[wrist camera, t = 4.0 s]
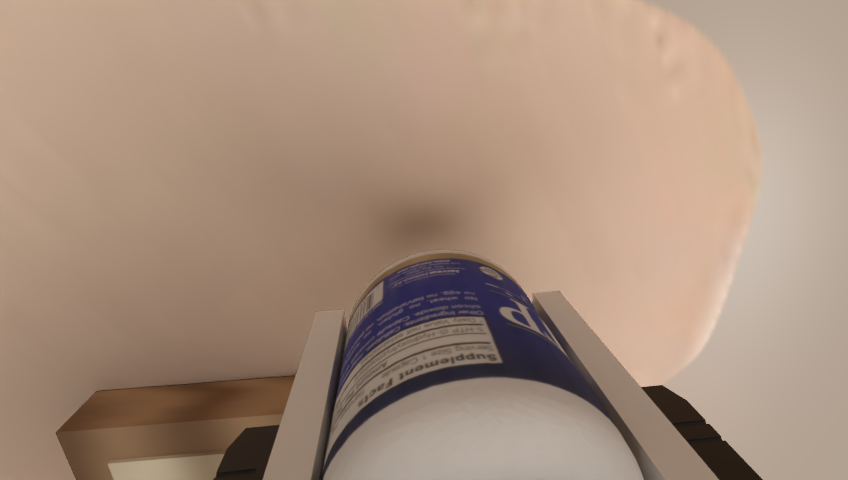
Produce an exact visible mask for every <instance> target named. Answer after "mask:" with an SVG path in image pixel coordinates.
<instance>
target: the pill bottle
mask: <svg viewBox="0 0 848 480" xmlns="http://www.w3.org/2000/svg"><path fill="white" fill-rule="evenodd" d="M321 480H644V478H643V475H642V473H641V470H640V468H639V465H638V463H637V461H636V458H635V457H634V455H633V453H632V452H631V450H630V448H629V447H628V445H627V443H626V442H625V440H624V438H623V437H622V435H621V433H620V431H619V430H618V428H617V427H616V425H615V424H614V422H613V421H612V419H611V418H610V416H609V415H608V413H607V412H606V411H605V409H604V408H603V407H602V405H601V404H600V402H599V401H598V400H597V398H596V397H595V395H594V394H593V392H592V391H591V389H590V388H589V386H588V385H587V383H586V382H585V380H584V379H583V377H582V376H581V374H580V373H579V372H578V370H577V369H576V367H575V366H574V364H573V362H572V361H571V360H570V359H569V357H568V356H567V354H566V353H565V351H564V350H563V348H562V347H561V346H560V344H559V343H558V341H557V340H556V338H555V337H554V335H553V334H552V333H551V331H550V330H549V328H548V327H547V325H546V324H545V322H544V321H543V319H542V318H541V316H540V315H539V313H538V312H537V310H536V309H535V307H534V306H533V304H532V303H531V301H530V300H529V298H528V297H527V295H526V294H525V292H524V291H523V290H522V288H521V287H520V285H519V284H518V283H517V282H516V280H515V279H514V278H513V277H512V276H511V275H510V274H509V273H508V272H507V271H505V270H504V269H503V268H501V267H500V266H499V265H497V264H495V263H494V262H492V261H490V260H489V259H486V258H484V257H481V256H479V255H476V254H473V253H470V252H465V251H460V250H449V249H440V250H430V251H424V252H420V253H416V254H413V255H410V256H407V257H405V258H402V259H400V260H398V261H396V262H394V263H393V264H391V265H389V266H388V267H386V268H385V269H383V270H382V271H381V272H380V273H379V274H377V275H376V276H375V277H374V278H373V279H372V280H371V281H370V282H369V284H368V285H367V286H366V287H365V288H364V290H363V291H362V293H361V294H360V296H359V298H358V300H357V301H356V303H355V306H354V308H353V310H352V313H351V316H350V320H349V325H348V329H347V335H346V340H345V346H344V352H343V359H342V366H341V371H340V377H339V383H338V389H337V395H336V401H335V407H334V411H333V416H332V423H331V428H330V433H329V439H328V444H327V450H326V455H325V461H324V466H323V472H322V478H321Z"/></svg>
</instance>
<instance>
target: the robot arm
mask: <svg viewBox="0 0 848 480" xmlns="http://www.w3.org/2000/svg"><path fill="white" fill-rule="evenodd" d="M532 304H533V306H534V307H535V309H536V310H537V312H538V313H539V315H540V316H541V318H542V319H543V321H544V322H545V324H546V325H547V327H548V328H549V330H550V331H551V333H552V334H553V335H554V337H555V338H556V340H557V341H558V343H559V344H560V346H561V347H562V348H563V350H564V351H565V353H566V354H567V356H568V357H569V359H570V360H571V361H572V362H573V364H574V366H575V367H576V369H577V370H578V372H579V373H580V374H581V376H582V377H583V379H584V380H585V382H586V383H587V385H588V386H589V388H590V389H591V391H592V392H593V394H594V395H595V397H596V398H597V400H598V401H599V402H600V404H601V405H602V407H603V408H604V409H605V411H606V412H607V413H608V415H609V416H610V418H611V419H612V421H613V422H614V424H615V425H616V427H617V428H618V430H619V431H620V433H621V435H622V437H623V438H624V440H625V442H626V443H627V445H628V447H629V448H630V450H631V452H632V453H633V455H634V457H635V458H636V461H637V463H638V465H639V468H640V470H641V473H642V475H643V478H644V480H762V479H761V477H759V475H757V473H756V472H755V471H754V470H753V469H752V468H751V467H750V466H749V465H748V464H747V463H746V462H745V461H744V460H743V459H742V458H741V457H740V456H739V455H738V454H737V453H736V451H734V449H733V448H732V447H731V446H730V445H729V444H728V443H727V442H726V441H722V439H721V436H720V435H719V434H718V433H717V432H716V431H715V430H714V428H713V427H712V426H711V425H710V424H706V422H705V419H704V418H703V417H702V416H701V415H700V414H699V413H698V412H697V411H696V410H695V409H694V408H693V407H692V406H691V405H690V403H689V402H688V401H687V400H685V399H683V398H682V397H680V396H678V395H677V394H675V393H674V392H672V391H670V390H669V389H667V388H666V387H664V386H662V385H659V386H649V387H640V386H639V385H638V383H637V382H636V381H635V380H634V379H633V377H632V376H631V375H630V374H629V373H628V372H627V370H626V369H625V368H624V367H623V366H622V365H621V363H620V362H619V361H618V360H617V359H616V357H615V356H614V355H613V354H612V353H611V352H610V350H609V349H608V348H607V347H606V346H605V344H604V343H603V342H602V341H601V340H600V339H599V337H598V336H597V335H596V334H595V333H594V332H593V330H592V329H591V328H590V327H589V326H588V324H587V323H586V322H585V321H584V320H583V319H582V317H581V316H580V315H579V314H578V313H577V311H576V310H575V309H574V308H573V307H572V306H571V304H570V303H569V302H568V301H567V300H566V299H565V297H564V296H563V295H562V294H561V293H560V291H553V292H541V293H533V301H532ZM346 335H347V328H346V320H345V312H344V309H340V310H328V311H316V314H315V317H314V320H313V323H312V326H311V329H310V332H309V335H308V339H307V342H306V345H305V348H304V351H303V354H302V357H301V361H300V364H299V367H298V370H297V373H296V376H295V379H294V382H293V386H292V389H291V392H290V395H289V398H288V401H287V404H286V408H285V411H284V414H283V417H282V420H281V423H280V425H272V426H261V427H251V428H245V430H244V431H243V432H242V433H241V434H240V435H239V436H238V437H237V438H236V439H235V440H234V442H233V443H232V444H231V445H230V446H229V447H228V448H227V450H226V452H225V454H224V456H223V458H222V461H221V463H220V465H219V467H218V470H217V472H216V478H214V479H213V480H321V478H322V472H323V466H324V461H325V455H326V450H327V444H328V439H329V433H330V428H331V423H332V416H333V411H334V407H335V401H336V395H337V389H338V383H339V377H340V371H341V366H342V359H343V352H344V346H345V340H346Z"/></svg>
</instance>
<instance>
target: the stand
mask: <svg viewBox="0 0 848 480" xmlns="http://www.w3.org/2000/svg"><path fill="white" fill-rule="evenodd" d="M294 379H295V376H286V377H273V378H261V379H248V380H235V381H222V382H210V383H197V384H184V385H171V386H158V387H146V388H133V389H120V390H107V391H96V392H95V393H94V394H93V395H92V396H91V397H90V398H89V399H88V400H87V401H86V402H85V403H84V404H83V405H82V406H81V407H80V408H79V409H78V410H77V411H76V413H75V414H74V415H73V416H72V417H71V418H70V419H69V420H68V421H67V422H66V423H65V424H64V425H63V426H62V427H61V428H60V429H59V430H58V431H57V432H56V435H57V437H58V439H59V442H60V444H61V446H62V448H63V451H64V453H65V455H66V458H67V460H68V462H69V465H70V467H71V469H72V471H73V474H74V476H75V478H76V480H213V479H214V478H216V472H217V470H218V467H219V465H220V463H221V461H222V458H223V456H224V454H225V452H226V450H227V448H228V447H229V446H230V445H231V444H232V443H233V442H234V440H235V439H236V438H237V437H238V436H239V435H240V434H241V433H242V432H243V431H244V430H245V428H251V427H261V426H272V425H280V423H281V420H282V417H283V414H284V411H285V408H286V404H287V401H288V398H289V395H290V392H291V389H292V386H293V382H294Z"/></svg>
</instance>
